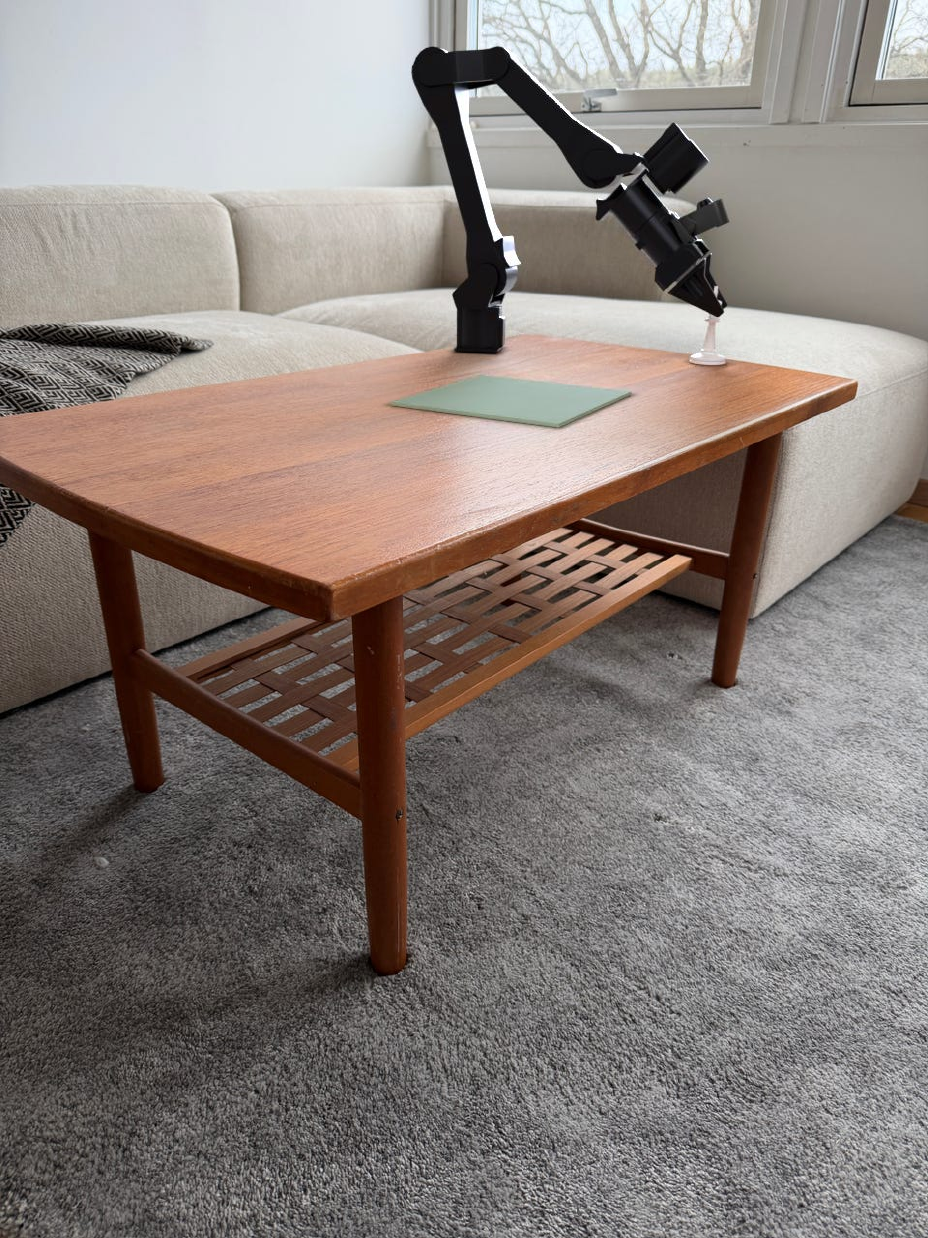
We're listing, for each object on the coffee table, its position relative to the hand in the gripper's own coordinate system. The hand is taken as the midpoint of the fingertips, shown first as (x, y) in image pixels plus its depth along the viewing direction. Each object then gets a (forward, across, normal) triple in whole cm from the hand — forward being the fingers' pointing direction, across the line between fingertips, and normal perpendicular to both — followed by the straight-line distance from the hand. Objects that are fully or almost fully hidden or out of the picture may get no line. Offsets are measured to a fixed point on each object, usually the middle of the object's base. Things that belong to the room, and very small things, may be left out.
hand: (723, 311), depth 124 cm
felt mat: (-10, -35, +19) cm, 41 cm away
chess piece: (+4, 0, +6) cm, 7 cm away
